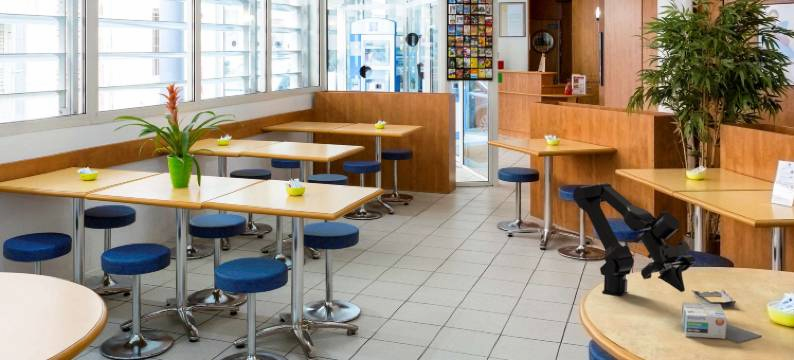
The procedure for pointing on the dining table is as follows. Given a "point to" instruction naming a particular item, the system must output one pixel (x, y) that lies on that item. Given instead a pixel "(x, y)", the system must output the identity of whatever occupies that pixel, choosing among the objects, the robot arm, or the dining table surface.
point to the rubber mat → (739, 334)
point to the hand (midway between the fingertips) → (683, 291)
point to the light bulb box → (703, 320)
